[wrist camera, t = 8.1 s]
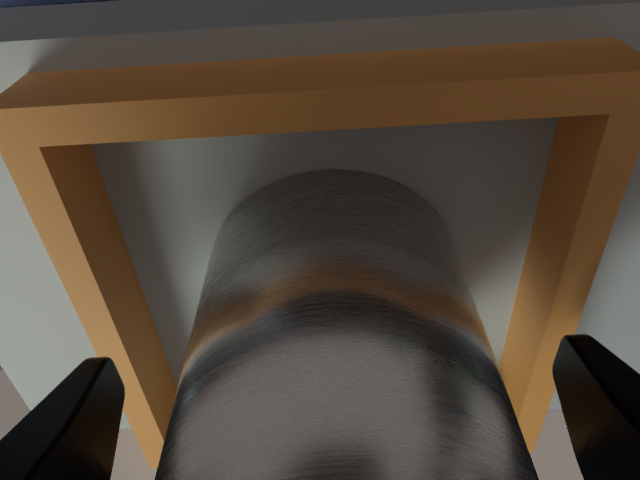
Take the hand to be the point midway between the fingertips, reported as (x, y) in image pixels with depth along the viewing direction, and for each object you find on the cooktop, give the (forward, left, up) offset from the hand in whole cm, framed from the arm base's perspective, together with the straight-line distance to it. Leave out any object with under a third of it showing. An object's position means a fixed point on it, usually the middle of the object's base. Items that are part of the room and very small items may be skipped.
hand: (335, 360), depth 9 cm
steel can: (0, 0, -2) cm, 2 cm away
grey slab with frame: (0, 0, -5) cm, 5 cm away
